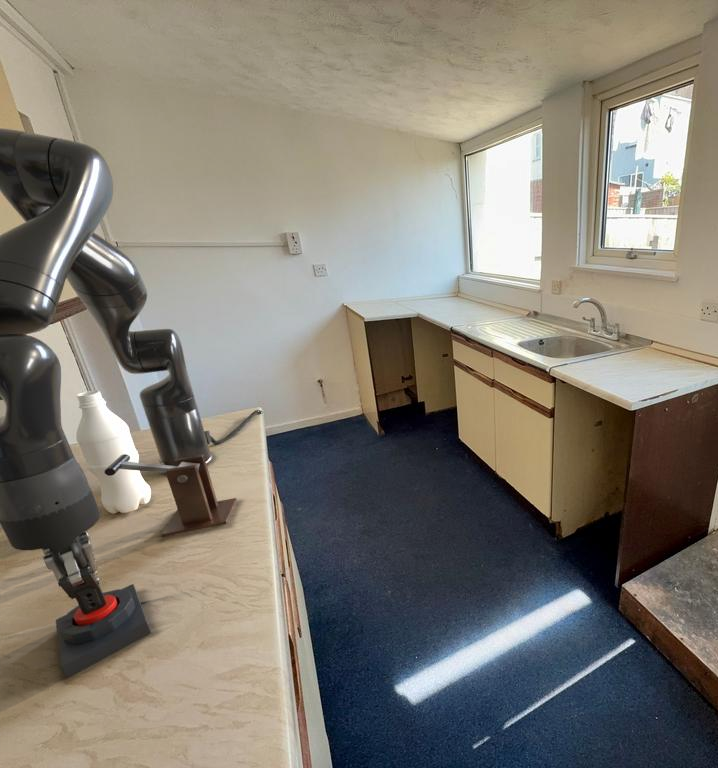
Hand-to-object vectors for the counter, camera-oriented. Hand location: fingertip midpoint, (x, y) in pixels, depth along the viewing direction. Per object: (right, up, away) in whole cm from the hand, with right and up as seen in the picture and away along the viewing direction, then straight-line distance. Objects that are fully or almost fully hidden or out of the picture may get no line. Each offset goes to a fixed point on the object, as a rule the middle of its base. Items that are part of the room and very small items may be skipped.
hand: (94, 607), depth 53 cm
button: (0, -2, +1) cm, 2 cm away
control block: (0, -4, +2) cm, 5 cm away
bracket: (-4, +4, +24) cm, 25 cm away
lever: (-9, +14, +19) cm, 25 cm away
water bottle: (-22, +5, +28) cm, 36 cm away
